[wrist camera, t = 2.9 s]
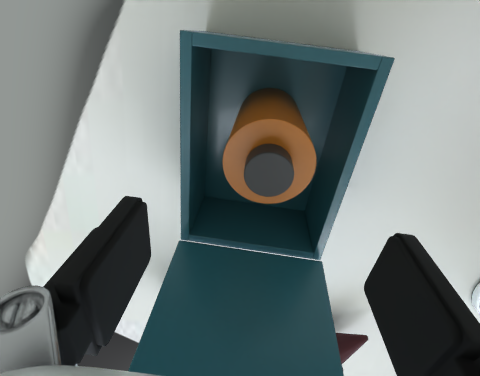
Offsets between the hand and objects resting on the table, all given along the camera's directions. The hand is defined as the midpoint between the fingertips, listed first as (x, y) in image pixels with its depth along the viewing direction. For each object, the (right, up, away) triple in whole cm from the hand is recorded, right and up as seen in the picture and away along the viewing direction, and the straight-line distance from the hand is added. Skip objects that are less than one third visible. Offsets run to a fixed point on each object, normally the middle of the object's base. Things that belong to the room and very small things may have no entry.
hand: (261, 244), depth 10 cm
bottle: (+2, +9, +16) cm, 18 cm away
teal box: (+2, +8, +17) cm, 19 cm away
